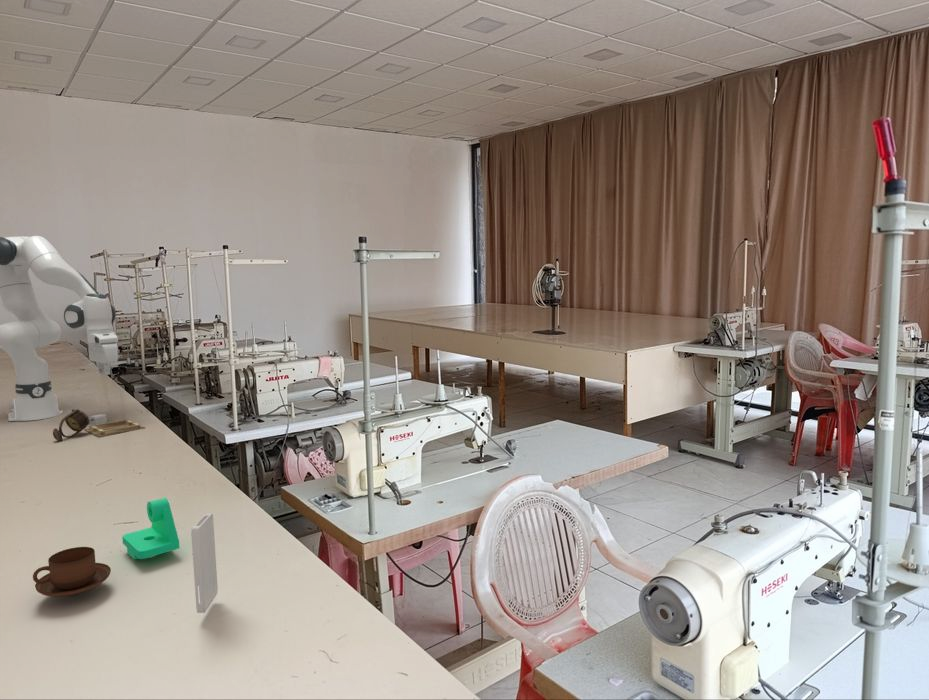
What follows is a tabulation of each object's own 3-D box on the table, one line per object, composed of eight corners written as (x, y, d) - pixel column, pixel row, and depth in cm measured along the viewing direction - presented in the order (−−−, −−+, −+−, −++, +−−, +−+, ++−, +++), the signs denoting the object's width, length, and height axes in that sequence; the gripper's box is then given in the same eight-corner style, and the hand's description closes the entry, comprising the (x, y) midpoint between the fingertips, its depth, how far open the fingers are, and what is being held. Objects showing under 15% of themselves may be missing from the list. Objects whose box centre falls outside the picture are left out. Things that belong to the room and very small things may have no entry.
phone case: (210, 593, 118) (205, 512, 116) (218, 592, 118) (213, 512, 116) (196, 614, 111) (190, 529, 109) (204, 614, 111) (198, 528, 109)
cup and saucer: (58, 609, 113) (54, 575, 112) (22, 593, 119) (19, 560, 118) (124, 581, 123) (122, 549, 122) (89, 567, 129) (86, 537, 129)
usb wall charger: (89, 426, 249) (88, 416, 249) (107, 422, 255) (106, 412, 255) (96, 427, 247) (95, 417, 247) (113, 423, 253) (112, 413, 253)
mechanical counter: (95, 433, 237) (93, 406, 236) (71, 443, 224) (68, 414, 223) (76, 433, 238) (74, 406, 236) (51, 443, 225) (48, 414, 224)
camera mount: (121, 547, 139) (118, 500, 137) (159, 536, 144) (156, 491, 143) (140, 565, 130) (136, 515, 129) (179, 553, 135) (176, 505, 134)
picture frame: (84, 432, 240) (84, 426, 240) (130, 424, 251) (130, 418, 251) (98, 438, 230) (98, 432, 229) (146, 430, 241) (145, 424, 241)
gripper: (82, 337, 249) (86, 373, 250) (101, 339, 235) (104, 377, 236) (100, 335, 253) (103, 370, 255) (119, 337, 239) (123, 375, 241)
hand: (104, 374), depth 245 cm, fingers open, 4 cm apart
